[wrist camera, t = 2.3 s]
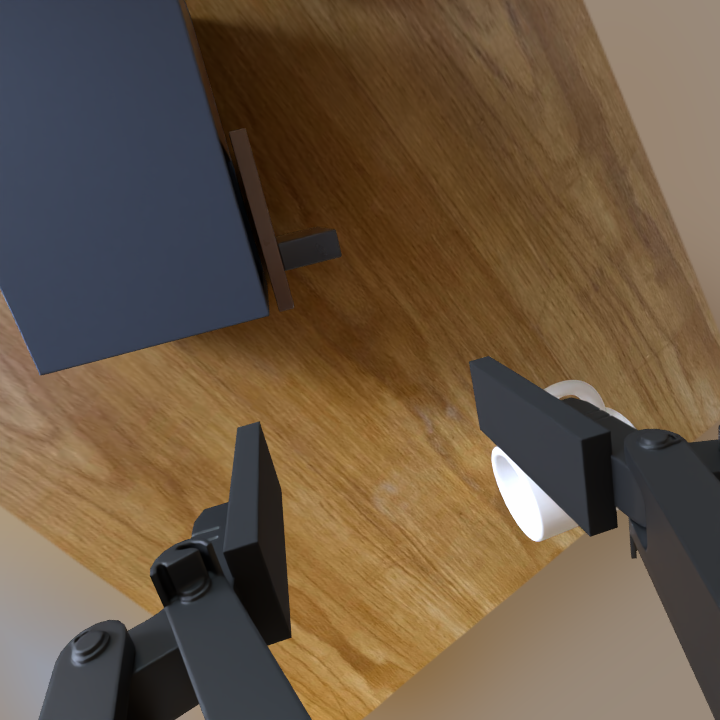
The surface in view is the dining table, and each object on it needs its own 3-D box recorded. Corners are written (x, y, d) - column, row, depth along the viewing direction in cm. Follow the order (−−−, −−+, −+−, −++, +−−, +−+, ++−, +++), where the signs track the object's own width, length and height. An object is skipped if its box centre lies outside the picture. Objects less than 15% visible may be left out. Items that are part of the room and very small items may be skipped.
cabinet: (190, 15, 31) (148, -102, 19) (267, 284, 36) (270, 315, 25) (3, 51, 30) (-158, -52, 18) (112, 324, 35) (39, 376, 24)
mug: (598, 468, 46) (664, 516, 39) (501, 506, 45) (548, 563, 38) (579, 351, 43) (647, 380, 35) (472, 390, 42) (519, 429, 34)
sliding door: (294, 146, 34) (309, 113, 23) (325, 270, 36) (351, 293, 26) (239, 158, 33) (227, 131, 22) (274, 283, 36) (279, 312, 25)
